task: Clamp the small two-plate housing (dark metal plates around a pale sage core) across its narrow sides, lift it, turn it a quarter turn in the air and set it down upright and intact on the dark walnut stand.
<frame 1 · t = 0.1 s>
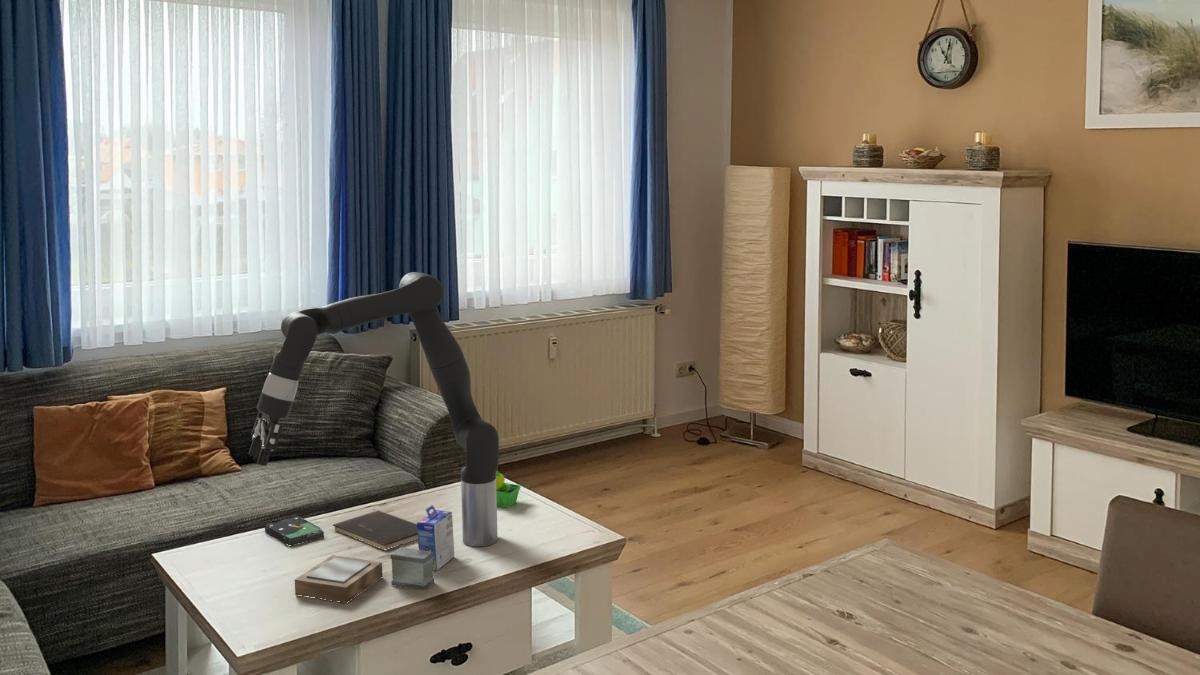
hand: (257, 460, 255), 31 cm above the table, tool tilted 20°, fingers open, 8 cm apart
two-plate housing: (413, 584, 262), on the table
walnut stand: (339, 586, 260), on the table
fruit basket: (498, 504, 319), on the table
disk drive: (294, 536, 295), on the table
ink cartridge box: (436, 563, 275), on the table
hardcover book: (382, 535, 296), on the table
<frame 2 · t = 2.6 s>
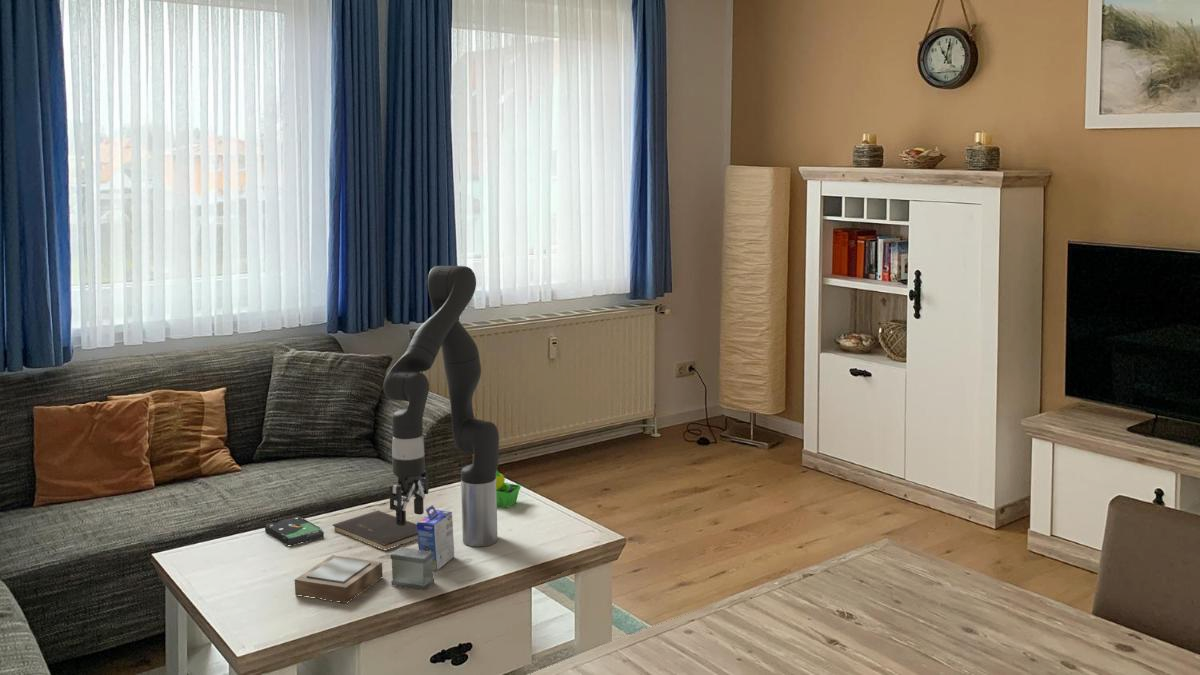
hand: (410, 519, 259), 16 cm above the table, tool pointing down, fingers open, 8 cm apart
nothing on the table moved.
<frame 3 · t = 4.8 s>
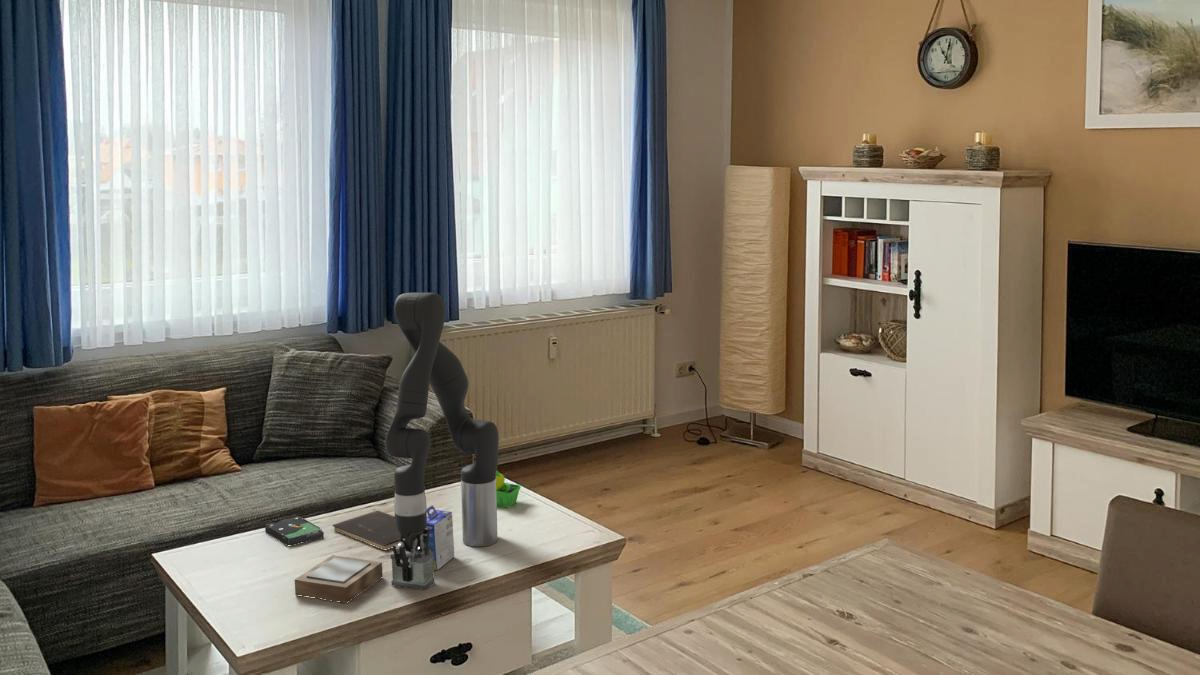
hand: (413, 576, 261), 2 cm above the table, tool pointing down, fingers closed on two-plate housing, 4 cm apart
two-plate housing: (413, 584, 262), on the table, touching gripper
everything else where it was.
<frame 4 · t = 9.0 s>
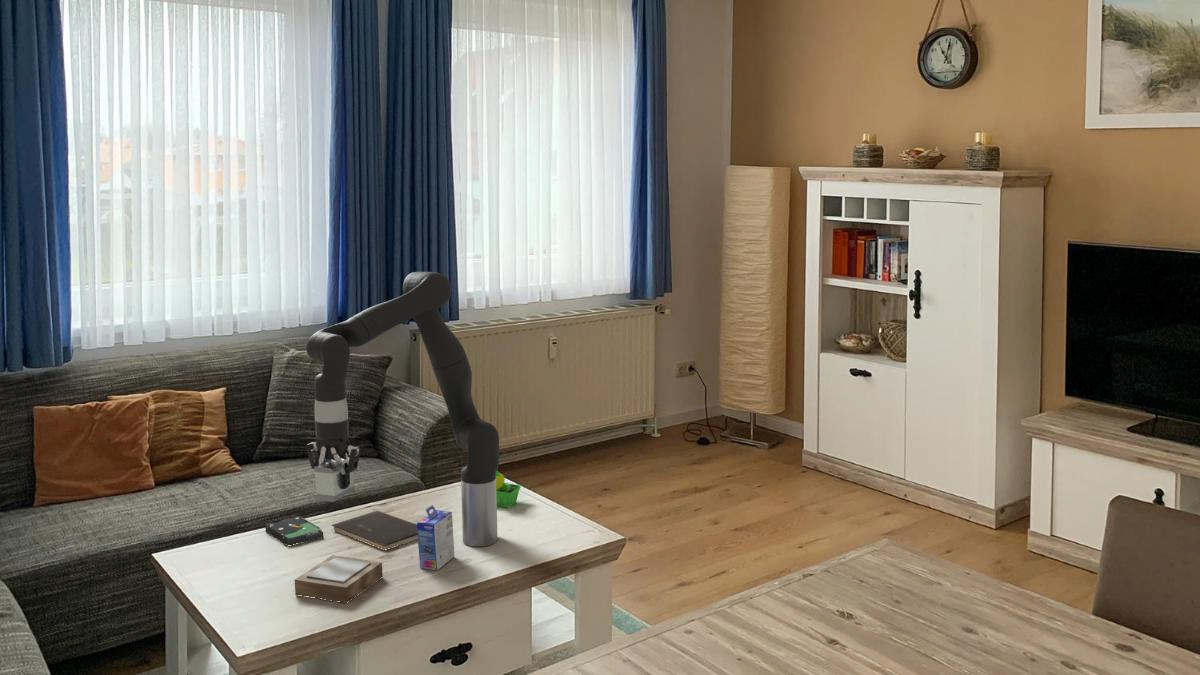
hand: (335, 486, 256), 25 cm above the table, tool pointing down, fingers closed on two-plate housing, 4 cm apart
two-plate housing: (335, 494, 256), point 23 cm above the table, touching gripper
everything else where it was.
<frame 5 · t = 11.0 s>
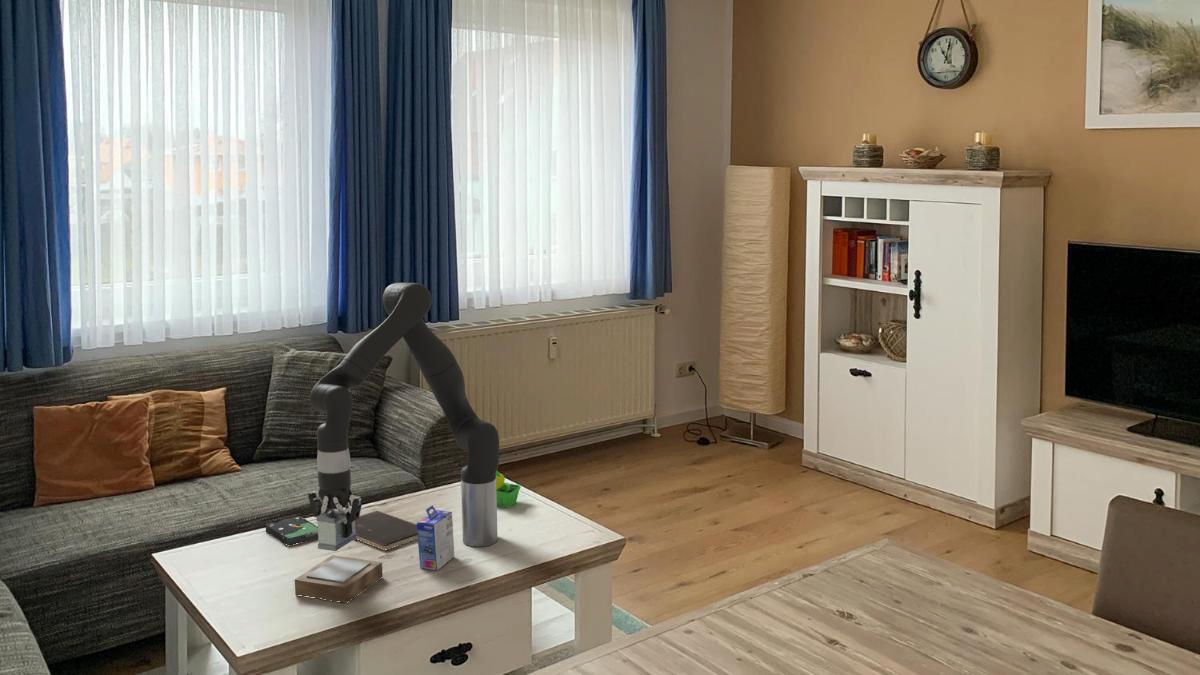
hand: (337, 535, 258), 13 cm above the table, tool pointing down, fingers closed on two-plate housing, 4 cm apart
two-plate housing: (337, 543, 258), point 11 cm above the table, touching gripper
everything else where it was.
when the fingers open (8 cm above the table, at t = 13.0 s): two-plate housing drops 1 cm, resting on walnut stand.
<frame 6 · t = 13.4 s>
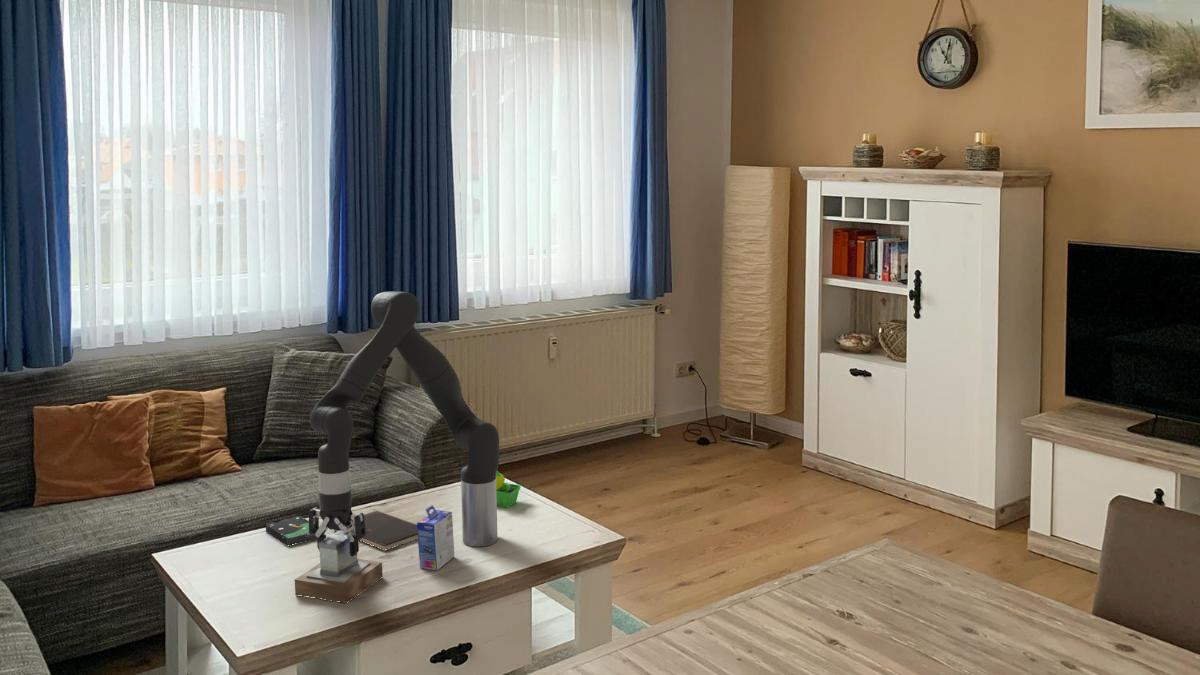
hand: (338, 552, 259), 8 cm above the table, tool pointing down, fingers open, 8 cm apart
two-plate housing: (339, 569, 260), point 4 cm above the table, touching walnut stand
everything else where it was.
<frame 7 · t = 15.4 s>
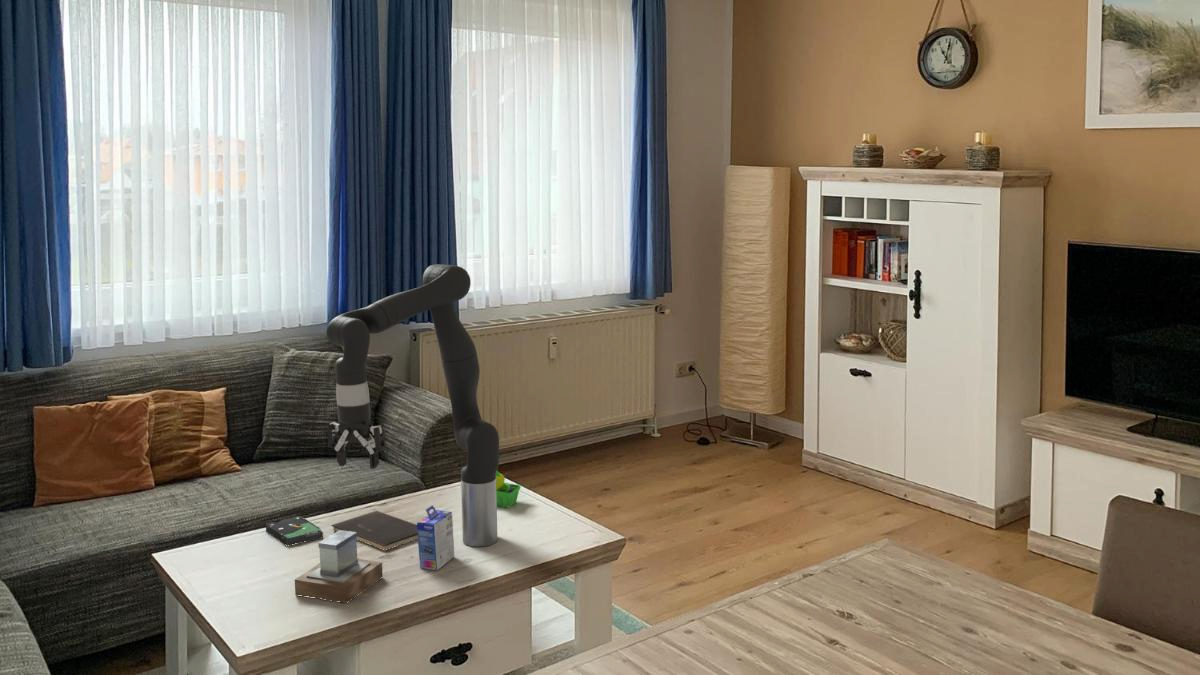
hand: (358, 466, 258), 29 cm above the table, tool pointing down, fingers open, 8 cm apart
nothing on the table moved.
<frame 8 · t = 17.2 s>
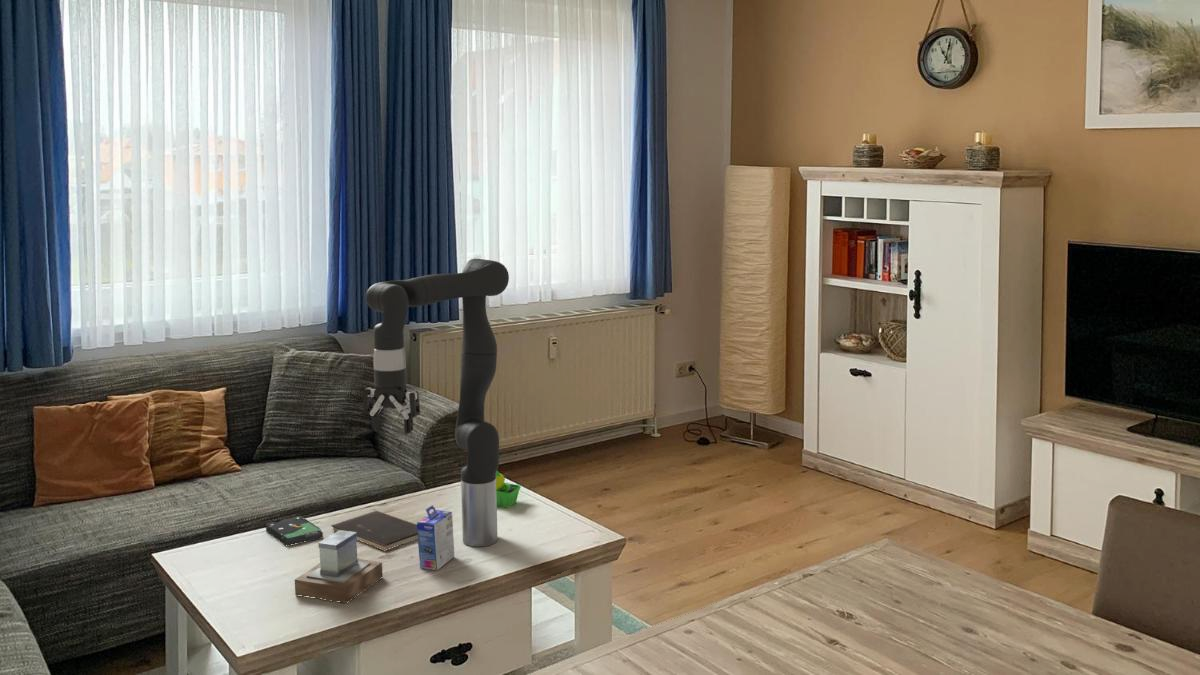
hand: (392, 431, 262), 36 cm above the table, tool pointing down, fingers open, 8 cm apart
nothing on the table moved.
at the end: two-plate housing inside the target area on the walnut stand (0.1 cm from its centre), point 4.4 cm above the walnut stand's base; two-plate housing tilted 0°; the gripper is holding nothing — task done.
